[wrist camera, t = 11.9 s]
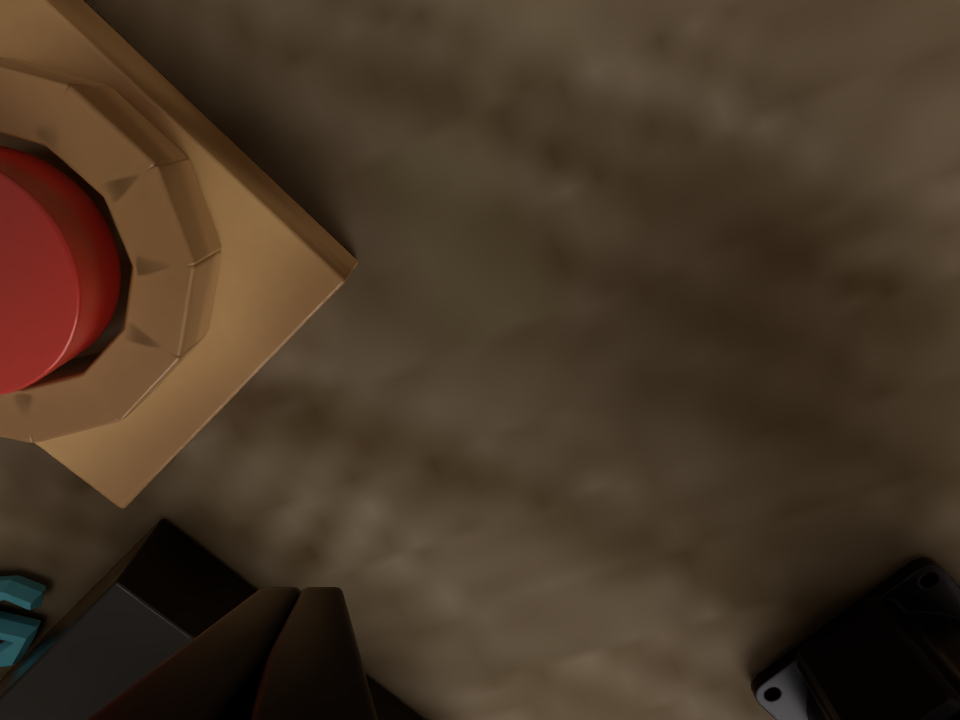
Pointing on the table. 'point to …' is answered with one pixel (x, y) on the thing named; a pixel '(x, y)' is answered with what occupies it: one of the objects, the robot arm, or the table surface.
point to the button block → (152, 249)
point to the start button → (50, 270)
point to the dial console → (134, 632)
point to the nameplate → (18, 617)
